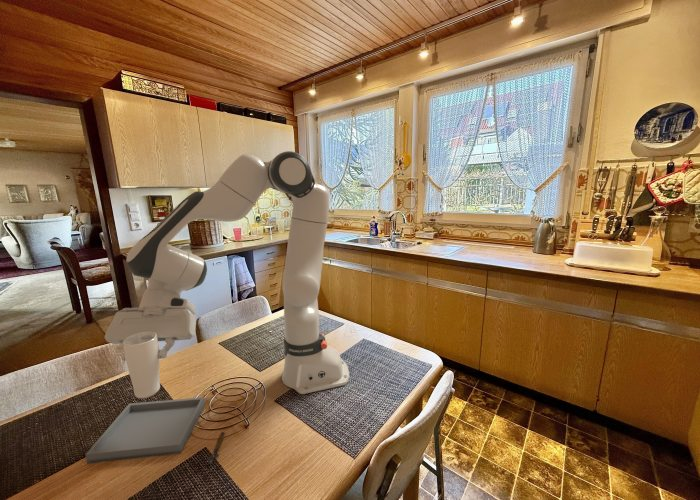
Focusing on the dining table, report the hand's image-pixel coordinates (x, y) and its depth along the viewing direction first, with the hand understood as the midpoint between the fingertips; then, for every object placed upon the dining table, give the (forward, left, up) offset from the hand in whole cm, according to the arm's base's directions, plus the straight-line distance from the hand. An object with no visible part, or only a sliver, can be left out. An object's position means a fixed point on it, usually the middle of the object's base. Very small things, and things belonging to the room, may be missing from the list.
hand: (144, 359), depth 70 cm
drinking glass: (0, 0, -9) cm, 9 cm away
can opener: (-18, +8, -21) cm, 29 cm away
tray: (0, 0, -20) cm, 20 cm away
